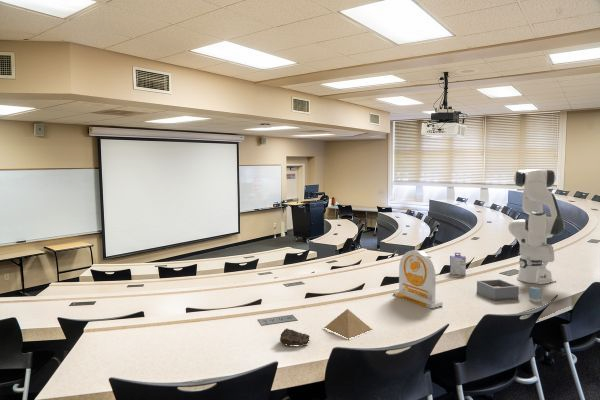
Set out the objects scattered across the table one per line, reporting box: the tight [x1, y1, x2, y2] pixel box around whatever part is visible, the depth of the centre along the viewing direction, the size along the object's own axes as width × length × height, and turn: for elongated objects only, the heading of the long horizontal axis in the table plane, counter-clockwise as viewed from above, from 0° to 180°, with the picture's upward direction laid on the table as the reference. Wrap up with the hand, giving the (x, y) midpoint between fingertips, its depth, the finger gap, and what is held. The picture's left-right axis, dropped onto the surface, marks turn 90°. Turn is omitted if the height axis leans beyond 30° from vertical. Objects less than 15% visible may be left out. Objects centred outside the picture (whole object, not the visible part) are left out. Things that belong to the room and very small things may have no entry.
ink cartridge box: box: [449, 252, 467, 276], centre depth 271 cm, size 10×6×14 cm, turn 78°
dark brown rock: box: [279, 328, 310, 346], centre depth 163 cm, size 12×10×5 cm
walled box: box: [476, 278, 520, 302], centre depth 223 cm, size 15×15×7 cm
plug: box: [528, 286, 542, 303], centre depth 214 cm, size 4×4×7 cm
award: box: [392, 249, 444, 309], centre depth 216 cm, size 28×9×28 cm, turn 29°
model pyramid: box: [323, 308, 373, 339], centre depth 177 cm, size 17×17×10 cm
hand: (536, 266), depth 213 cm, fingers open, 8 cm apart
